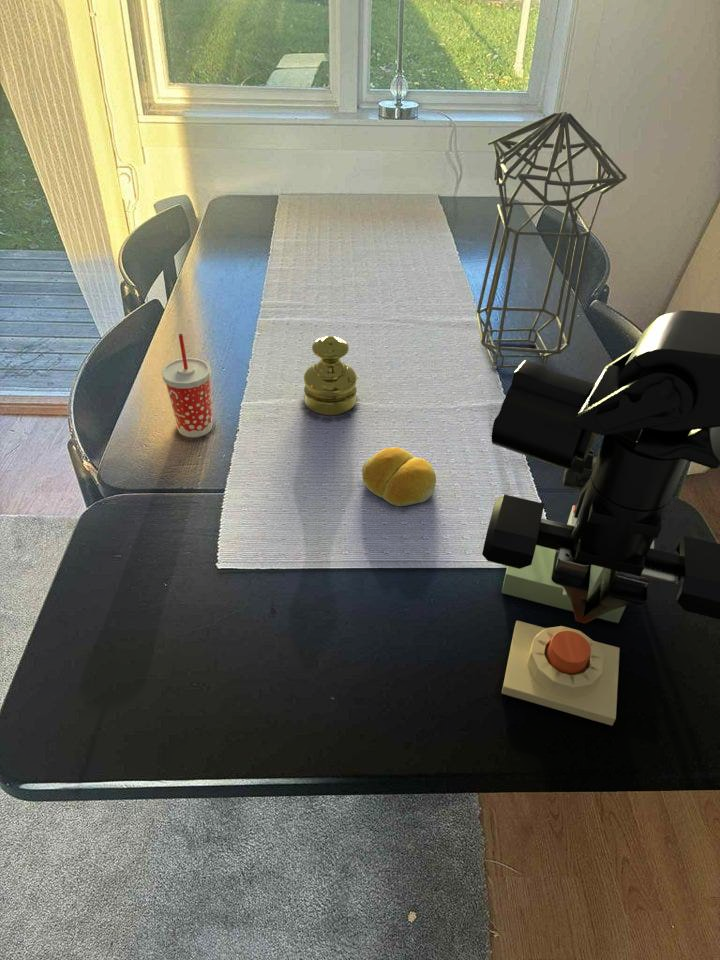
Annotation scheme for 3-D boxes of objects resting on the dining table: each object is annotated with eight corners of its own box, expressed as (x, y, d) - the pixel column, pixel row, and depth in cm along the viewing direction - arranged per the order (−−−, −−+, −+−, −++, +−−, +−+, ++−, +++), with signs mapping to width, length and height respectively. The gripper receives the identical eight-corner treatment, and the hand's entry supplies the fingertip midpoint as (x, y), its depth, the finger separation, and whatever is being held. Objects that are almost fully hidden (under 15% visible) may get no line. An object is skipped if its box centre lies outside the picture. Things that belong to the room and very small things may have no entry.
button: (587, 647, 66) (592, 636, 65) (584, 679, 63) (589, 667, 62) (549, 637, 66) (553, 625, 65) (544, 667, 64) (548, 656, 63)
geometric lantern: (554, 332, 117) (609, 99, 94) (575, 385, 105) (644, 132, 82) (460, 329, 116) (492, 95, 94) (470, 381, 105) (509, 127, 82)
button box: (616, 654, 68) (625, 636, 66) (612, 726, 63) (621, 708, 61) (514, 627, 70) (519, 608, 69) (501, 693, 65) (506, 675, 63)
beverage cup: (170, 416, 96) (153, 324, 87) (216, 411, 97) (204, 320, 88) (173, 443, 91) (155, 349, 82) (220, 437, 93) (208, 344, 83)
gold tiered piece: (309, 419, 96) (308, 356, 90) (300, 389, 102) (298, 328, 95) (361, 413, 98) (363, 350, 91) (349, 384, 103) (351, 323, 97)
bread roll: (410, 518, 82) (413, 493, 79) (351, 485, 86) (352, 460, 83) (449, 483, 87) (453, 458, 84) (392, 453, 91) (393, 429, 88)
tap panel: (622, 556, 78) (630, 536, 76) (617, 630, 71) (626, 610, 69) (515, 530, 81) (520, 510, 79) (499, 599, 73) (504, 579, 71)
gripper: (757, 447, 55) (690, 579, 65) (519, 399, 59) (491, 530, 69) (774, 544, 47) (694, 677, 57) (496, 481, 51) (468, 616, 61)
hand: (580, 618), depth 61 cm, fingers closed
